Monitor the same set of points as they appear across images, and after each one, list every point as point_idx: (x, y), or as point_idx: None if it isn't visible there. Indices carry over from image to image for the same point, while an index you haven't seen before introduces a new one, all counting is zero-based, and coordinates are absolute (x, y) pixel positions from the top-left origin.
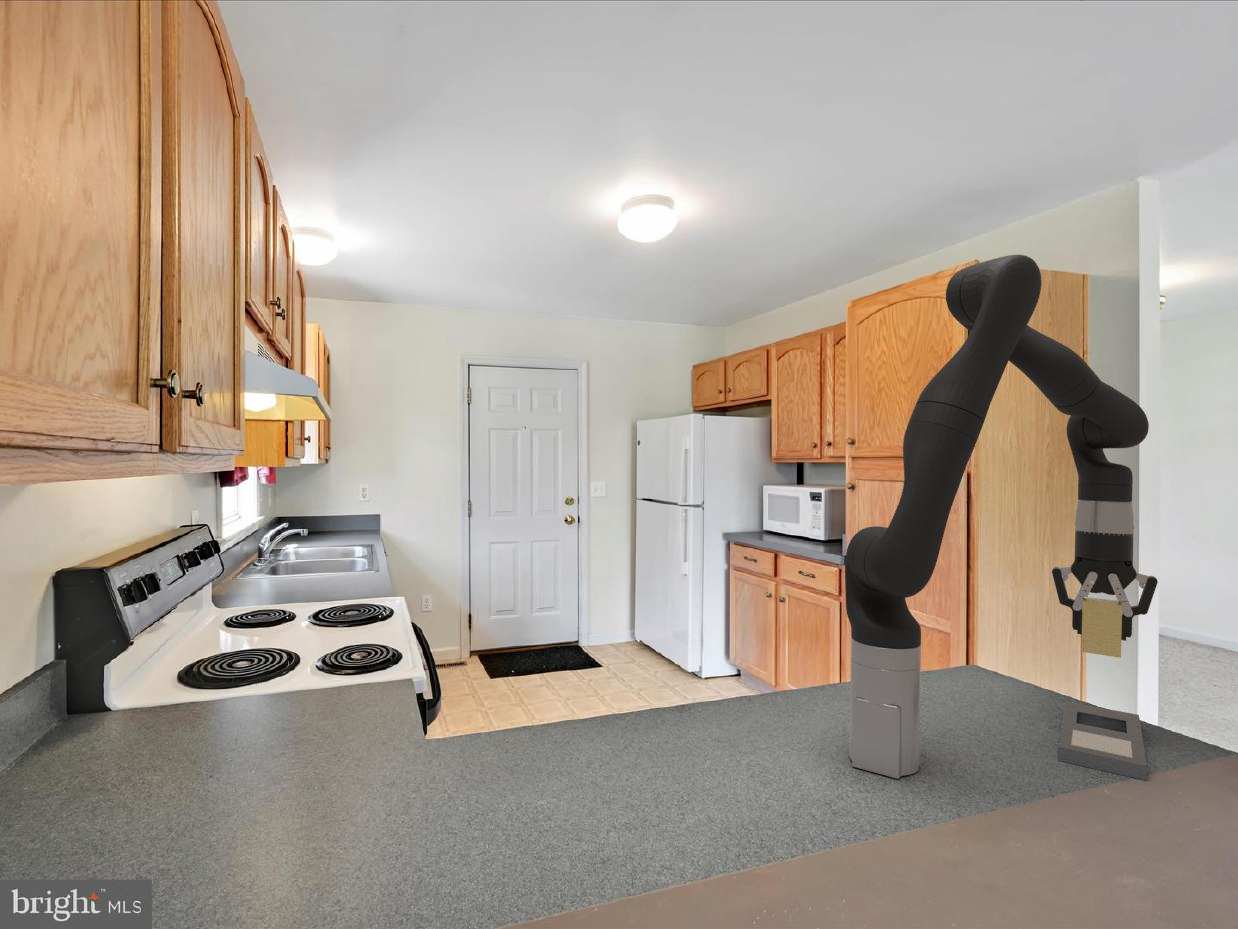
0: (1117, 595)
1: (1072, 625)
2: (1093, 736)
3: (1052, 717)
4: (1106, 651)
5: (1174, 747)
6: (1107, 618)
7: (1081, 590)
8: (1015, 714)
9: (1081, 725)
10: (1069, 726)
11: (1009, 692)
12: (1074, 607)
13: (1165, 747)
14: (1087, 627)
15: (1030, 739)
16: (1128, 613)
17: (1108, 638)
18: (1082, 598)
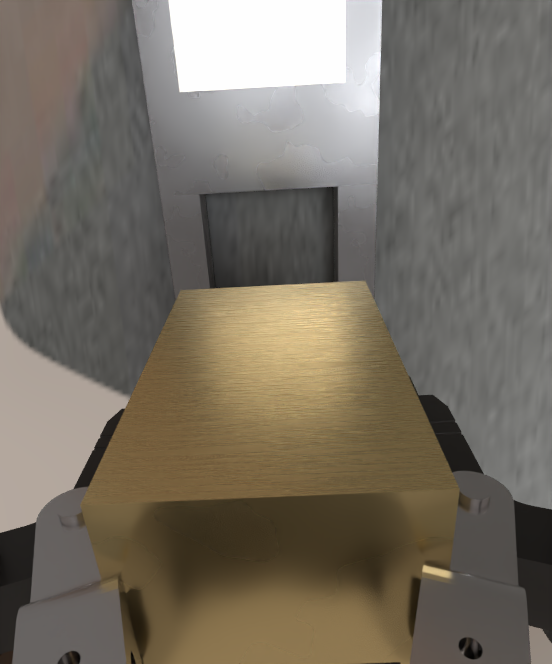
0: (104, 645)
1: (447, 412)
2: (282, 51)
3: (396, 322)
4: (245, 297)
5: (106, 286)
6: (227, 405)
7: (515, 647)
8: (495, 276)
9: (322, 172)
10: (355, 130)
11: (504, 463)
12: (491, 492)
13: (124, 269)
14: (360, 347)
15: (458, 45)
16: (70, 505)
17: (231, 331)
18: (460, 571)
